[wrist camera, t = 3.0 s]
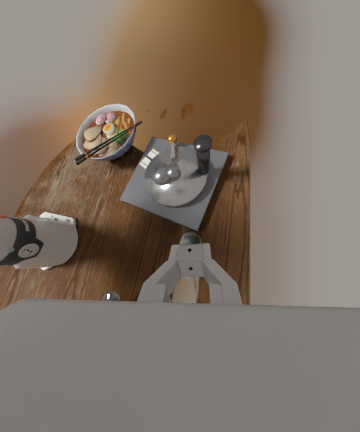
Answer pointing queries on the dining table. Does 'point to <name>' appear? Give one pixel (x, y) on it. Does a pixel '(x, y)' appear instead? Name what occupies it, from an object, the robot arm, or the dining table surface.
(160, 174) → the wheel
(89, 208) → the dining table surface
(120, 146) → the ramen bowl
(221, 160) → the grey flat square slab
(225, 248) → the dining table surface
